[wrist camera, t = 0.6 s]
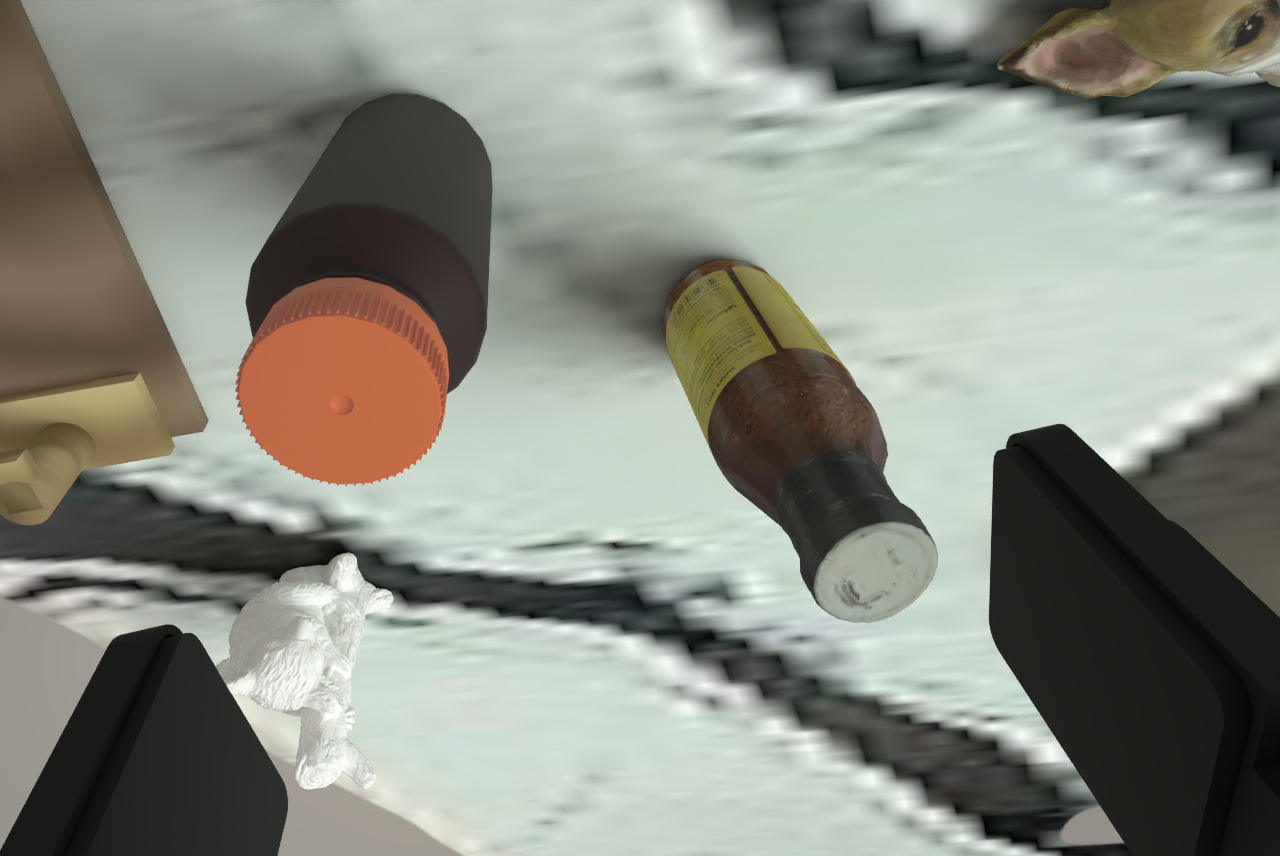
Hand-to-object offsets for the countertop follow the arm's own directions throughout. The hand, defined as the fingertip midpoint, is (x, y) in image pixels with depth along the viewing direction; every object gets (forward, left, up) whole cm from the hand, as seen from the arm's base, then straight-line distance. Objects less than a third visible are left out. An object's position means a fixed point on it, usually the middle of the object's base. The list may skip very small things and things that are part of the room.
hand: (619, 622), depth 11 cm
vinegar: (+3, -6, -32) cm, 33 cm away
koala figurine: (+24, -16, -32) cm, 43 cm away
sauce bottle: (+12, +7, -32) cm, 35 cm away
